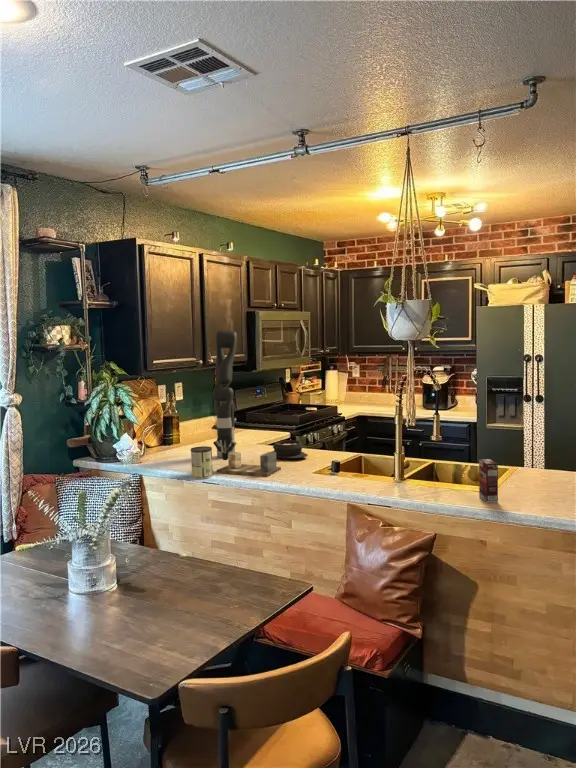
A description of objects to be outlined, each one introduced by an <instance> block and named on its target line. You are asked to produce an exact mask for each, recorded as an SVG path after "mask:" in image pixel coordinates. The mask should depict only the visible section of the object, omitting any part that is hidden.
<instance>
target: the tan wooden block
mask: <svg viewBox="0 0 576 768" xmlns="http://www.w3.org/2000/svg"><path fill="white" fill-rule="evenodd" d="M227 461H228V465H229V467H228V469H230V468H235V469H236V468H238V467H240V466H241V464H242V452H240V451H239V452H237V451H235V452H233V453H230V454H228V460H227Z"/></svg>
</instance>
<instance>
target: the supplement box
mask: <svg viewBox="0 0 576 768" xmlns="http://www.w3.org/2000/svg"><path fill="white" fill-rule="evenodd" d="M498 466H499V463H497V462H495V460H494V461H493V460H492V459H491V458H483V459H481V458H480V459H478V482H479V483H478V485H479V486H478V488H479V489H478V490H479V491H478V493H479V494H478V495H479V496H478V497H479V499H481V500H482V501H484V502H485V503H486V504H494V503H499V467H498Z"/></svg>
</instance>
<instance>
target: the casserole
mask: <svg viewBox="0 0 576 768" xmlns="http://www.w3.org/2000/svg"><path fill="white" fill-rule="evenodd" d="M273 444H274V445H273V446H272V448H273V450H272V451H271V452H276V459H277V458H278V459H282V460H294V458H295V459H301V458H306V457H308V456H309V454H307V453H305V451H304V452H303V451H302V450H303V447H304V445H303V443H302V442H301V441H299V440H287V439H286V440H280V441H276V442H274V443H273Z"/></svg>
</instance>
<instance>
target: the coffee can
mask: <svg viewBox="0 0 576 768" xmlns="http://www.w3.org/2000/svg"><path fill="white" fill-rule="evenodd" d="M212 451H213V447H212V446H206V445H205V446H195V447H191V448H190V458H191V459H190V460H191V478H192V479H195V480H196V479H197V480H204V479H210V478H212V477H213V476H214V474H213V453H212Z"/></svg>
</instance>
